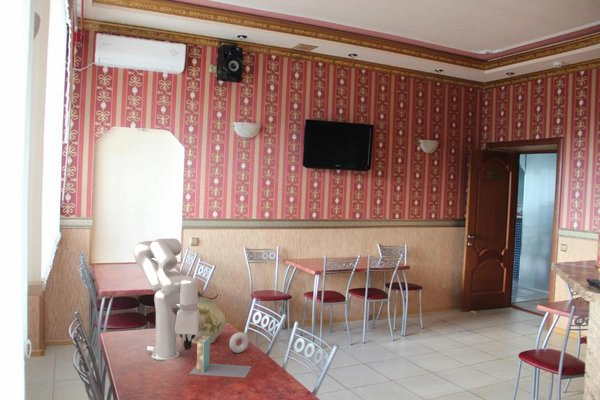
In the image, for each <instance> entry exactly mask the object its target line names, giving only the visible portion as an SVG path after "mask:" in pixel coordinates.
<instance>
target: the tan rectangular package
mask: <svg viewBox="0 0 600 400" xmlns="http://www.w3.org/2000/svg"><path fill="white" fill-rule="evenodd" d="M196 347H197V348H196V351H197V352H196V365H197V372H204V371H205V370H206V369H207V368H208V366H209V363H210V357H211V356H210V355H211V352H210V351H211V350H210V349H211V343H210V336H203V337H202V338H201V339H200V340H199V341H198V342H197V344H196Z"/></svg>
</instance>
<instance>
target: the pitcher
mask: <svg viewBox="0 0 600 400" xmlns="http://www.w3.org/2000/svg"><path fill="white" fill-rule="evenodd" d="M219 296H220V293H218V294H217V295H215V296H213V297H208V296H204V295H202V293H201V292H200V291H199V290H198V306H197V310H199V314H200V336H198V337H194V338H193V339H192V343H193V344H196V345H197V342H198V341H199V340H200V339H201V338H202V337H203V336H210V344H212V343H215V342H216V339H217V338H218V336H220V335H221V333H222V332H223V330H224V329H225V326H226V317H225V315H224V313H223V311H222V310H221V309H220V308H219V307H218V306H217V304H216V301H217V299H218V298H219ZM187 337H188V338H189V335H187Z"/></svg>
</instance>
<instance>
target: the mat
mask: <svg viewBox="0 0 600 400" xmlns="http://www.w3.org/2000/svg"><path fill="white" fill-rule="evenodd" d="M252 367H253V366H251V365H238V364H234V365H233V364H223V363H211V362H209V366H208V368H207V369H206V370H205V371H204V372H197V364H196V365H195V366H194V367H193V369H191V371H189V375H200V376H201V375H203V376H214V377H215V376H216V377H231V378H233V377H234V378H244V379H246V378H247V376H248V374H249V373H250V371H251V369H252Z"/></svg>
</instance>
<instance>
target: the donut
mask: <svg viewBox="0 0 600 400" xmlns="http://www.w3.org/2000/svg"><path fill="white" fill-rule="evenodd" d="M239 340H241V343H240V345H237V342H238V341H239ZM249 343H250V340H249V337H248V335H247V334H246V333H244V332H241V331H240V332H239V331H238V332H236V333H234V334H232V336H230V339H229V343H228V345H229V346H228V347H229V348H230V350H231V351H232V352H233V353H236V354H240V353H243V352H244V351H246V349H247V348H248V346H249Z"/></svg>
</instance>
